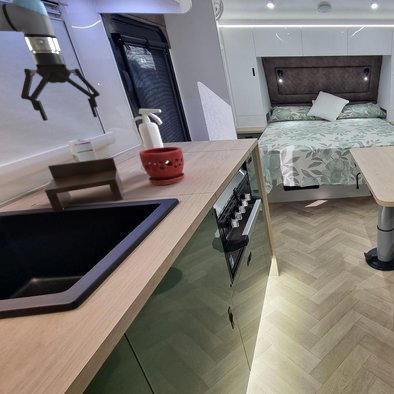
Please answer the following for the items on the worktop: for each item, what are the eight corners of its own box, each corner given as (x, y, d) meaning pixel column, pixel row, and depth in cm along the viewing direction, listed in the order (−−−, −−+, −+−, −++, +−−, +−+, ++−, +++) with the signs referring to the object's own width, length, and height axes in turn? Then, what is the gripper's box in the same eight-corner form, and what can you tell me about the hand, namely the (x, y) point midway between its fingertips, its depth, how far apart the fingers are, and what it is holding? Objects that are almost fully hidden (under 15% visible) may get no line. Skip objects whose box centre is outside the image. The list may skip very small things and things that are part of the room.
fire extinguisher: (145, 170, 122) (127, 108, 112) (177, 167, 125) (162, 107, 115) (139, 175, 116) (119, 110, 106) (172, 172, 119) (156, 108, 109)
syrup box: (104, 175, 116) (91, 139, 110) (86, 180, 111) (71, 142, 105) (98, 173, 118) (85, 138, 113) (80, 177, 114) (66, 140, 108)
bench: (54, 212, 84) (38, 176, 79) (62, 198, 94) (48, 165, 90) (122, 199, 92) (111, 166, 88) (123, 187, 103) (113, 157, 98)
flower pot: (188, 183, 106) (180, 150, 101) (146, 189, 101) (135, 155, 96) (188, 173, 117) (181, 144, 112) (150, 178, 111) (141, 148, 107)
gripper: (-13, 50, 87) (19, 123, 95) (93, 53, 100) (114, 116, 108) (-4, 52, 92) (25, 120, 101) (95, 54, 106) (115, 114, 114)
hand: (71, 118), depth 104 cm, fingers open, 13 cm apart
